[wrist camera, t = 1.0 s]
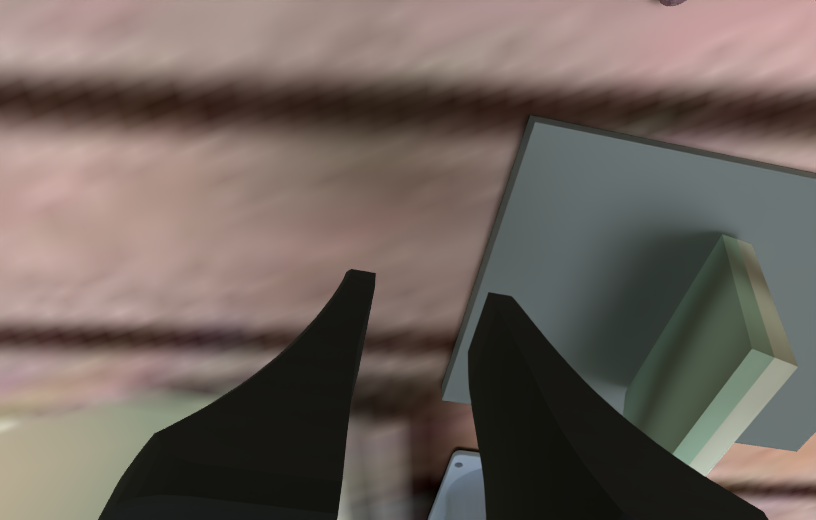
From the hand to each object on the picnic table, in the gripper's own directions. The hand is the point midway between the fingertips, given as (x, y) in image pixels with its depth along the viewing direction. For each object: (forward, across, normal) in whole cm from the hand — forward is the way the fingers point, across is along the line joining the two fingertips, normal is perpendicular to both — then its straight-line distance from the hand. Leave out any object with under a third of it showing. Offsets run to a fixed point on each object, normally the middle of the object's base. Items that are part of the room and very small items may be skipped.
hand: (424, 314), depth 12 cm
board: (+10, -15, +5) cm, 19 cm away
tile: (+5, -12, +5) cm, 14 cm away
